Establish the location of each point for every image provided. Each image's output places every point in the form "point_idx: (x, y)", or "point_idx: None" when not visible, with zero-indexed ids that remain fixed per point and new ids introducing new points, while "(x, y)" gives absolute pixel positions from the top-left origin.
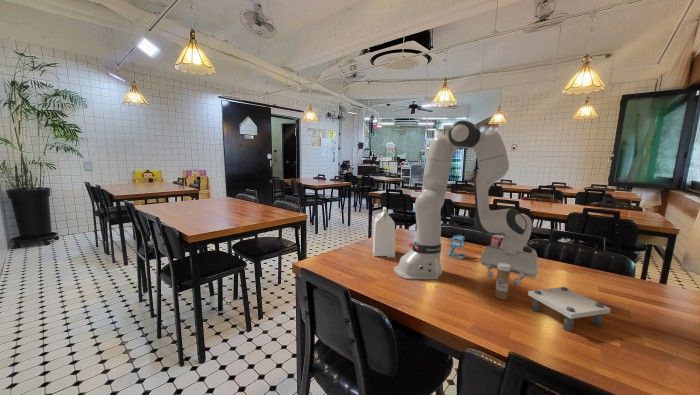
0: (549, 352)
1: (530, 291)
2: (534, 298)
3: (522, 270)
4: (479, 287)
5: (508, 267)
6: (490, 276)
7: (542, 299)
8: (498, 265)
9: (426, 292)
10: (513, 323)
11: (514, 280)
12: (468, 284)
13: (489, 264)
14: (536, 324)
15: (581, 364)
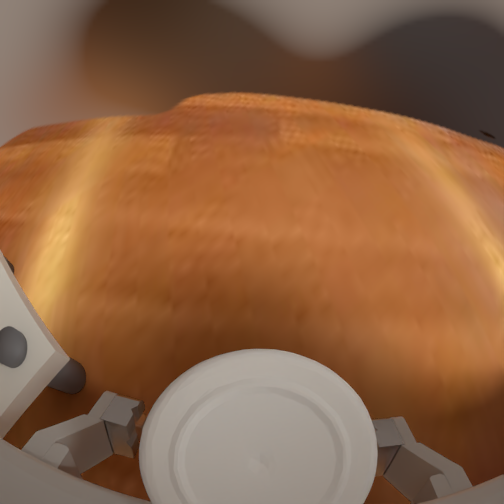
0: (91, 140)
1: (44, 350)
2: (43, 324)
3: (16, 454)
4: None
5: (169, 387)
6: None
7: (11, 279)
8: (346, 385)
9: (489, 236)
10: (162, 202)
11: (132, 405)
12: None
13: (457, 491)
14: (85, 244)
15: (45, 145)
